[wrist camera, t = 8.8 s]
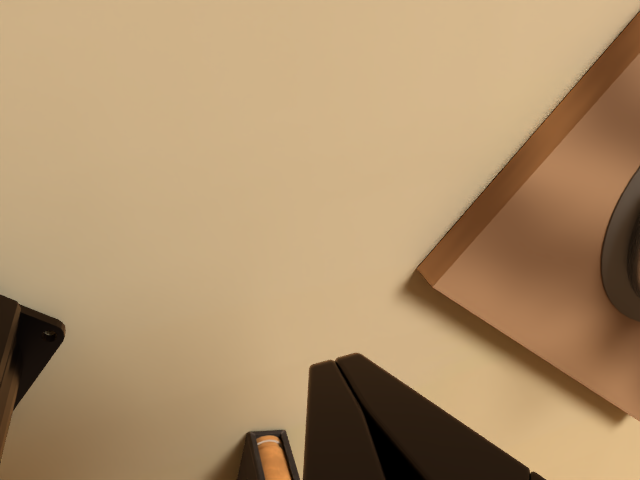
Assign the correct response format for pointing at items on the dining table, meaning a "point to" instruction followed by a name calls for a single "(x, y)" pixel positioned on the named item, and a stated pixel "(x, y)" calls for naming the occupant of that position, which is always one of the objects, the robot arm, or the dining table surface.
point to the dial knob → (634, 258)
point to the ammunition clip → (267, 457)
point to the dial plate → (563, 235)
